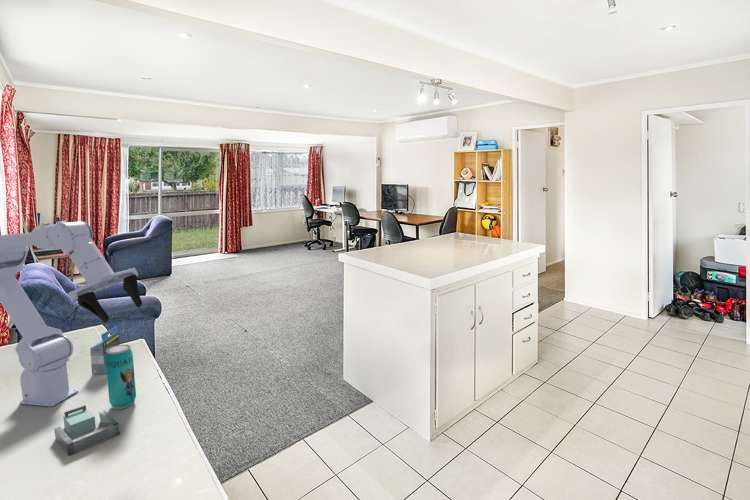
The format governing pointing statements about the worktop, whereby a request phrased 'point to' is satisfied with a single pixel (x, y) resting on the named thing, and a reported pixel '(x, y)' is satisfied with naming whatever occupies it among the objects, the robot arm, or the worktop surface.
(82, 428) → the mint cube with handle
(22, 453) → the worktop surface
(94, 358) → the label tape box
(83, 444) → the bay
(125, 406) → the beverage can
